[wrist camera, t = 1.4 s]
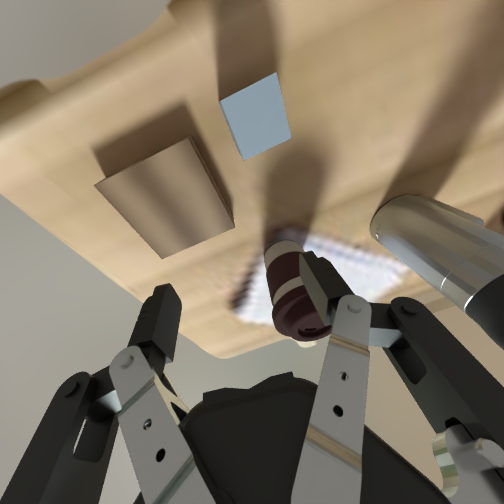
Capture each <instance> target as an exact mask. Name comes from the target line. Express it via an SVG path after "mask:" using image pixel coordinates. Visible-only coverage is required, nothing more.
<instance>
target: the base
mask: <svg viewBox="0 0 504 504" xmlns="http://www.w3.org/2000/svg"><path fill="white" fill-rule="evenodd" d="M94 186H95V187H96V188H97V190H98V191H99V192H100V193H101V194H102V195H103V196H104V197H105V198H106V199H107V200H108V201H109V203H110V204H111V205H112V206H113V207H114V208H115V209H116V210H117V211H118V212H119V213H120V214H121V215H122V217H123V218H124V219H125V220H126V221H127V222H128V223H129V224H130V225H131V226H132V227H133V228H134V229H135V231H136V232H137V233H138V234H139V235H140V236H141V237H142V238H143V239H144V240H145V241H146V242H147V243H148V245H149V246H150V247H151V248H152V249H153V250H154V251H155V252H156V253H157V254H158V255H159V256H160V258H161V259H164V258H166V257H168V256H171V255H173V254H175V253H177V252H180V251H182V250H184V249H187V248H189V247H191V246H194V245H196V244H198V243H200V242H203V241H205V240H207V239H210V238H212V237H214V236H217V235H219V234H221V233H223V232H226V231H228V230H230V229H233V228H235V224H234V218H233V216H232V214H231V212H230V210H229V208H228V207H227V205H226V203H225V201H224V199H223V197H222V195H221V193H220V191H219V189H218V187H217V185H216V183H215V181H214V179H213V177H212V176H211V174H210V172H209V170H208V168H207V166H206V164H205V162H204V160H203V158H202V156H201V154H200V152H199V150H198V148H197V147H196V145H195V143H194V141H193V139H192V137H191V135H190V136H188V137H186V138H184V139H182V140H180V141H178V142H176V143H174V144H172V145H170V146H168V147H166V148H164V149H162V150H160V151H158V152H156V153H154V154H152V155H150V156H148V157H146V158H144V159H142V160H140V161H138V162H136V163H134V164H132V165H130V166H128V167H126V168H124V169H122V170H120V171H118V172H116V173H114V174H112V175H110V176H108V177H106V178H105V179H103V180H102V181H100V182H98V183H97V184H95V185H94Z"/></svg>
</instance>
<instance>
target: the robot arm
mask: <svg viewBox="0 0 504 504" xmlns="http://www.w3.org/2000/svg"><path fill="white" fill-rule="evenodd" d="M483 223H484V222H483V220H482V219H481V218H478V217H476V216H474V215H471V214H469V213H466V212H464V211H462V210H459V209H457V208H454V207H452V206H449V205H447V204H445V203H442V202H440V201H437V200H435V199H433V198H430V197H428V196H425V195H423V194H422V195H420V196H413V195H403V196H399V197H397V198H394V199H393V200H391V201H389V202H388V203H387V204H385V205H384V206H383V207H382V208H381V209H380V210H379V211H378V212H377V214H376V215H375V216H374V218H373V220H372V223H371V226H370V233H371V236H372V237H373V238H374V239H375V240H376V241H378V243H380V244H381V245H382V246H384V247H385V248H386V249H387V250H388V251H390V252H391V253H392V254H393V255H394V256H396V257H397V258H398V259H399V260H401V261H402V262H403V263H404V264H405V265H407V266H408V267H409V268H410V269H412V270H413V271H414V272H415V273H416V274H418V275H419V276H420V277H421V278H423V279H424V280H425V281H426V282H427V283H429V284H430V285H431V286H432V287H434V288H435V289H436V290H437V291H438V292H440V293H441V294H442V295H444V296H445V297H446V298H447V299H448V300H450V301H451V302H452V303H453V304H454V305H456V306H457V307H458V308H460V309H461V310H462V311H463V312H465V313H466V314H467V315H468V316H469V317H470V318H472V319H473V320H474V321H475V322H476V323H478V324H479V325H480V326H481V328H482V329H483V330H484V331H485V332H486V333H487V334H488V336H489V337H490V338H491V339H492V340H493V341H494V342H495V343H496V344H497V345H499V346H500V347H501V348H502V349H503V350H504V235H502V234H500V233H498V232H495V231H493V230H491V229H488V228H486V227H484V226H483ZM299 269H300V276H301V280H302V282H303V284H304V286H305V288H306V290H307V292H308V294H309V296H310V298H311V300H312V302H313V304H314V306H315V308H316V310H317V312H318V314H319V316H320V318H321V319H322V321H323V323H324V325H325V326H328V325H331V326H332V332H331V336H330V339H329V342H328V346H327V351H326V355H325V360H324V363H323V368H322V371H321V376H320V380H319V384H318V385H317V384H315V383H313V382H311V381H308V380H306V379H302V378H295V377H293V373H292V372H287V373H283V374H279V375H276V376H271V377H269V378H267V379H265V380H264V381H262V382H260V383H259V384H257V385H255V386H253V387H252V388H250V389H237V388H222V389H218V390H213V391H209V392H206V393H203V401H201V402H200V403H198V404H197V405H196V406H195V407H193V408H192V409H191V410H190V409H189V408H188V407H187V405H186V404H185V403H184V402H183V401H182V399H181V398H180V396H179V394H178V393H177V391H176V390H175V388H174V386H173V384H172V383H171V381H170V380H169V378H168V376H167V374H166V373H165V372H164V366H165V364H167V363H171V362H173V358H174V352H175V346H176V340H177V334H178V328H179V322H180V316H181V310H182V304H181V300H180V298H179V296H178V295H177V293H176V292H175V290H174V288H173V287H172V285H171V284H170V283H168V284H163V285H159V286H156V287H155V289H154V292H153V295H152V296H150V297H148V298H147V300H146V301H145V302H144V304H143V305H142V308H141V311H140V314H139V316H138V321H137V322H136V324H135V327H134V330H133V333H132V335H131V338H130V341H129V343H128V346H127V348H125V349H123V350H122V351H121V352H119V353H118V354H117V355H116V357H115V358H114V359H113V361H112V362H111V364H110V365H109V366H108V367H106V368H104V369H102V370H100V371H98V372H96V373H95V374H93V375H90V374H89V373H87V372H79V373H76V374H75V375H73V376H71V377H70V378H68V379H67V380H66V381H65V382H64V383H63V384H62V385H61V386H60V387H59V389H58V390H57V392H56V393H55V395H54V397H53V399H52V401H51V403H50V405H49V407H48V409H47V411H46V413H45V414H44V417H43V418H42V420H41V422H40V424H39V426H38V428H37V430H36V432H35V434H34V436H33V438H32V440H31V442H30V444H29V446H28V448H27V449H26V451H25V453H24V455H23V457H22V459H21V461H20V463H19V465H18V467H17V469H16V471H15V473H14V475H13V477H12V479H11V481H10V482H9V485H8V486H7V489H6V490H5V492H4V494H3V496H2V498H1V500H0V504H98V503H99V500H100V496H101V492H102V488H103V484H104V480H105V476H106V473H107V468H108V465H109V461H110V457H111V453H112V450H113V446H114V442H115V438H116V434H117V430H118V426H119V424H120V427H121V430H122V434H123V436H124V440H125V443H126V446H127V449H128V452H129V455H130V458H131V461H132V464H133V467H134V470H135V473H136V477H137V480H138V483H139V485H140V489H141V492H140V493H139V495H138V497H137V499H136V500H135V502H134V503H133V504H504V387H503V386H502V385H501V384H500V383H499V382H498V381H497V380H496V379H495V378H494V377H493V376H492V375H491V374H490V373H489V372H488V371H487V370H486V369H485V368H484V367H483V365H482V364H481V363H480V362H479V361H478V360H476V359H475V357H474V356H472V354H471V353H470V352H469V351H468V350H467V349H466V348H465V347H464V346H463V345H462V344H461V343H460V342H459V341H458V340H457V339H456V338H455V337H454V336H453V335H452V334H451V333H450V332H449V331H448V329H447V328H446V327H445V326H444V325H443V324H442V323H441V322H440V321H439V320H438V319H437V318H436V317H435V316H434V315H433V314H432V313H431V312H430V311H429V310H428V309H427V308H426V307H425V306H424V305H423V304H422V303H420V302H419V301H417V300H415V299H412V298H408V297H397V298H394V299H393V300H392V301H391V304H383V303H370V302H367V301H366V300H365V299H364V298H362V297H360V296H357V295H355V294H354V293H353V292H352V290H351V289H350V288H349V286H348V285H347V284H346V282H345V281H344V280H343V278H342V277H341V276H340V274H338V272H337V270H336V269H335V268H334V266H333V265H332V264H331V262H330V261H328V260H327V259H325V258H324V257H320V258H317V257H316V255H315V254H314V252H313V251H308V252H304V253H300V254H299ZM368 346H378V347H382V348H383V350H384V351H385V353H386V354H387V356H388V357H389V359H390V361H391V362H392V364H393V366H394V367H395V369H396V370H397V372H398V374H399V375H400V377H401V378H402V380H403V382H404V383H405V384H406V386H407V388H408V390H409V391H410V393H411V394H412V396H413V397H414V399H415V401H416V402H417V404H418V405H419V407H420V409H421V410H422V412H423V413H424V415H425V417H426V418H427V420H428V421H429V423H430V424H431V426H432V427H433V429H434V431H435V432H436V435H435V436H434V438H433V440H432V449H433V453H434V456H435V459H436V461H437V463H438V465H439V467H440V470H441V473H442V477H443V487H442V491H441V490H439V488H438V487H436V486H435V484H434V483H433V482H431V481H430V480H429V479H428V478H427V477H426V476H424V475H423V474H422V473H421V472H420V471H419V470H417V469H416V468H415V467H414V466H413V465H412V464H410V463H409V462H408V461H407V460H406V459H404V458H403V457H402V456H401V455H400V454H399V453H398V452H396V451H395V450H394V449H393V448H392V447H391V446H389V445H388V444H387V443H386V442H384V441H383V440H382V439H381V438H380V437H379V436H378V435H376V434H375V433H374V432H373V431H372V430H370V429H369V428H368V427H367V426H366V425H365V424H364V419H365V408H366V396H367V384H368V372H369V360H370V352H369V350H368ZM84 419H86V423H85V425H84V428H83V431H82V434H81V436H80V439H79V441H78V444H77V447H76V450H75V452H74V454H73V451H74V450H73V449H74V446H75V443H76V440H77V437H78V435H79V432H80V430H81V427H82V424H83V421H84Z"/></svg>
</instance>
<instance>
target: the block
mask: <svg viewBox="0 0 504 504" xmlns="http://www.w3.org/2000/svg"><path fill="white" fill-rule="evenodd" d="M219 104H220V107H221V109H222V112H223V114H224V117H225V119H226V122H227V124H228V127H229V129H230V132H231V134H232V137H233V139H234V142H235V144H236V147H237V149H238V151H239V153H240V155H241V156H242V158H243V160H246V159H248V158H251V157H253V156H255V155H257V154H259V153H261V152H263V151H265V150H267V149H270V148H272V147H274V146H276V145H278V144H280V143H282V142H284V141H287V140H289V139H291V138H292V137H291V133H290V129H289V124H288V120H287V116H286V111H285V107H284V103H283V98H282V94H281V90H280V85H279V81H278V77H277V72H275V73H273V74H271V75H270V76H268V77H266V78H264V79H262V80H260V81H258V82H256V83H254V84H252V85H250V86H248V87H246V88H244V89H242V90H240V91H238V92H237V93H235V94H233V95H231V96H229V97H227V98H225V99H223V100H221V101H220V102H219Z"/></svg>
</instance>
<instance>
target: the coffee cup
mask: <svg viewBox="0 0 504 504" xmlns="http://www.w3.org/2000/svg"><path fill="white" fill-rule="evenodd" d="M304 252H305V251H304V250H303V249H302V248H301V246H300V245H299V244H297V243H296V242H294V241H289V240H284V241H280V242H277V243H275V244H274V245H272V246H271V247H270V248H269V249H268V250H267V252H266V254H265V257H264V262H265V267H266V271H267V272H266V277H267V282H268V287H269V292H270V297H271V301H272V305H273V311H272V318H273V322H274V325H275V328H276V329H277V331H278V332H279V333H281V334H283V335H285V336H289V337H292V338H293V339H295V340H297V341H304V342H307V341H314V340H318V339H321V338H324V337H326V336H328V335H329V334H331V332H332V326H331V325H328V326H325V325H324V323H323V321H322V319H321V318H320V316H319V314H318V312H317V310H316V308H315V306H314V304H313V302H312V300H311V298H310V296H309V294H308V292H307V290H306V288H305V286H304V284H303V282H302V280H301V276H300V269H299V254H300V253H304Z"/></svg>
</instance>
